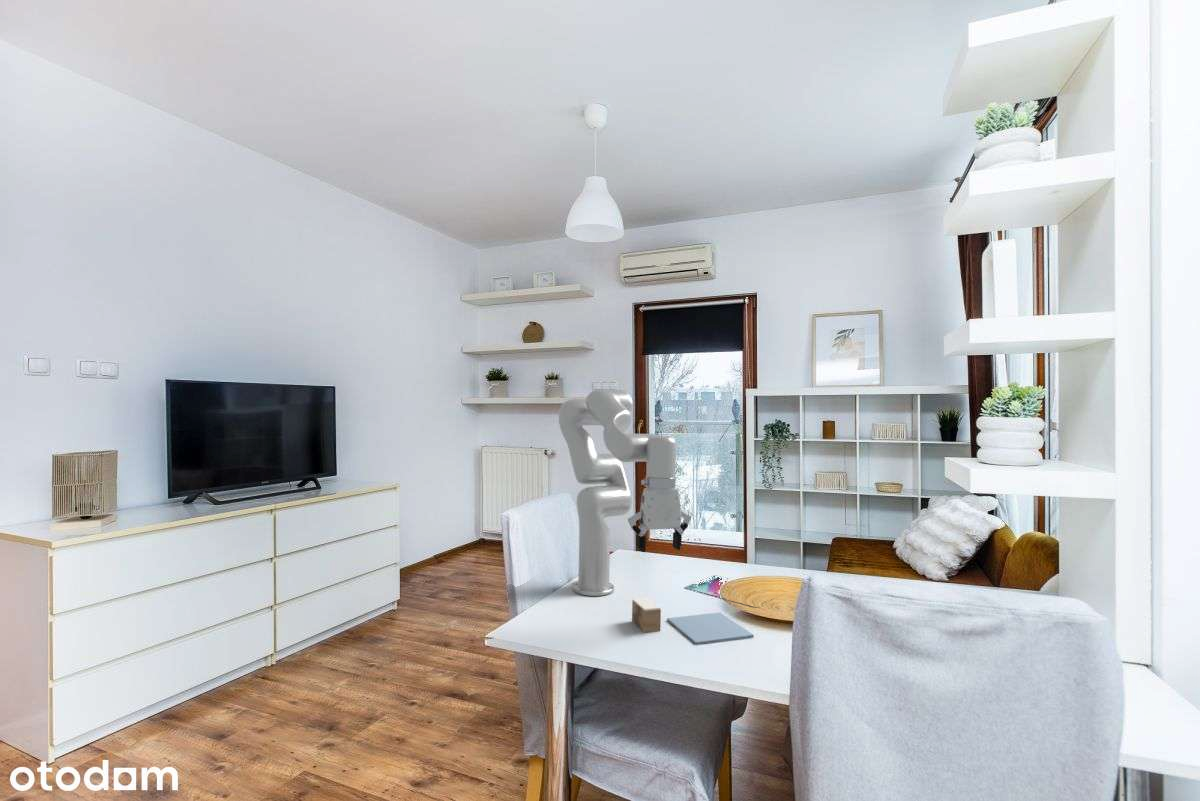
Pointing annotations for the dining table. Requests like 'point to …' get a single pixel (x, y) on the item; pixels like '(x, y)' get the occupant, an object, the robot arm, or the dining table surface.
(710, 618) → the mat
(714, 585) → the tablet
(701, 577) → the dining table surface
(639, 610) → the block
